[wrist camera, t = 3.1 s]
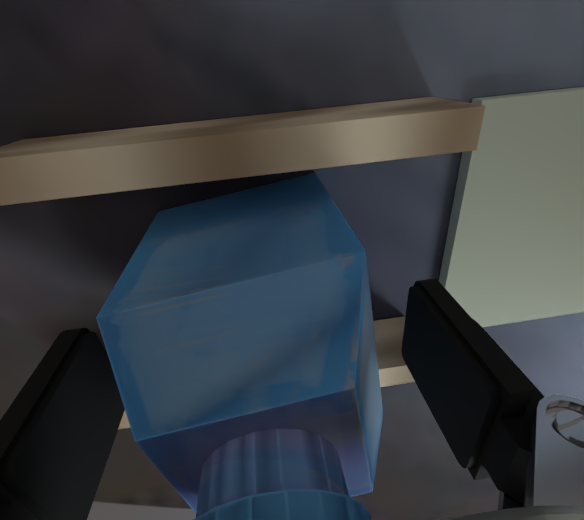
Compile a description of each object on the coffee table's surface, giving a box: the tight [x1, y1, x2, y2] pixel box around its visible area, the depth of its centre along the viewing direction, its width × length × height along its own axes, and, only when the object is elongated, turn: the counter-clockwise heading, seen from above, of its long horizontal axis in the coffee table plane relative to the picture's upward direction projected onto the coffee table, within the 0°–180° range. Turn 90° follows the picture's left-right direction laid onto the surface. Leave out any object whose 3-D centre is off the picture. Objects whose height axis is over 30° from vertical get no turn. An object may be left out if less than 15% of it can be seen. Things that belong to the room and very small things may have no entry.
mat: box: [439, 87, 584, 327], centre depth 15 cm, size 9×11×1 cm
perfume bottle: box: [96, 173, 383, 520], centre depth 9 cm, size 6×6×12 cm
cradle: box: [0, 97, 485, 429], centre depth 13 cm, size 14×11×4 cm
